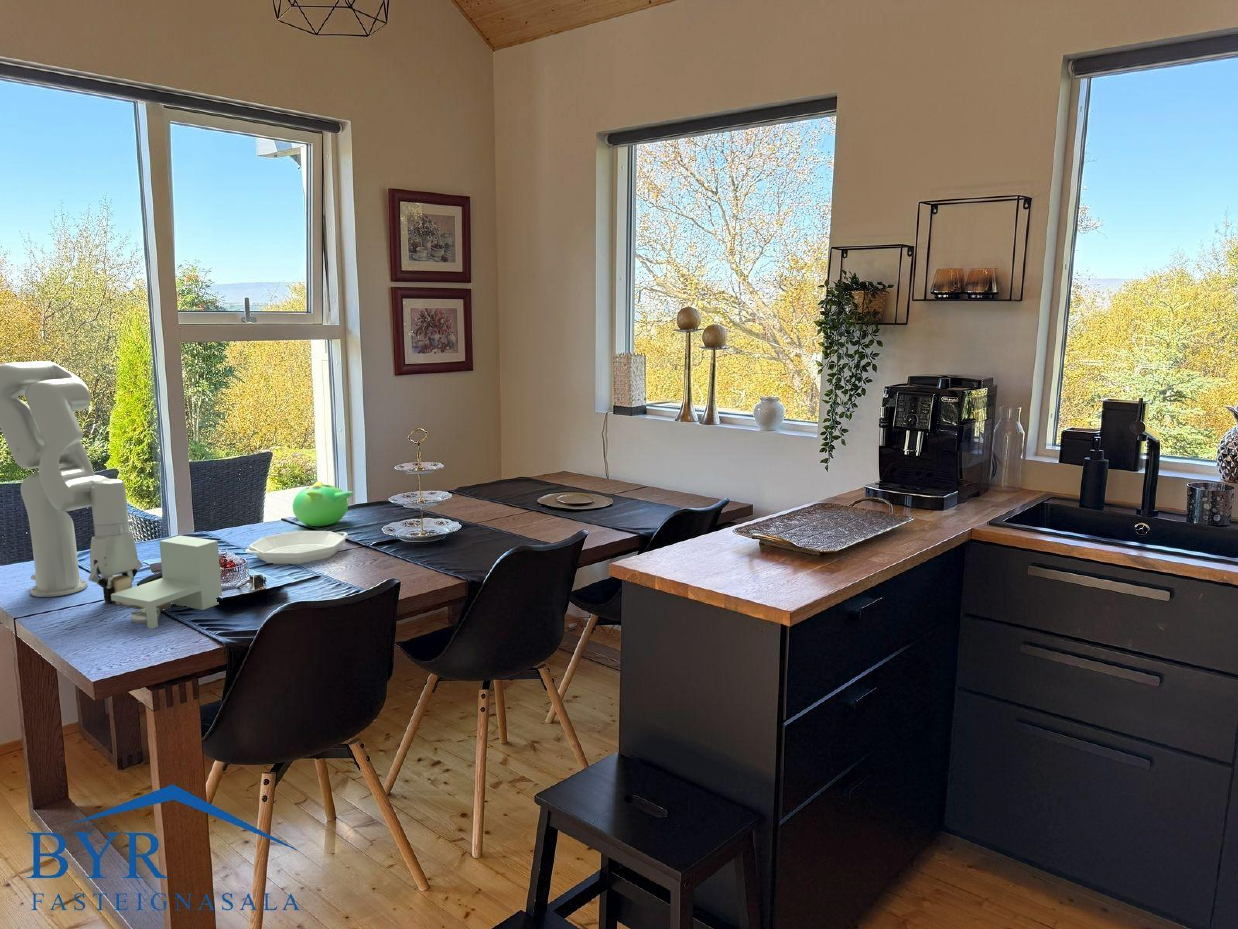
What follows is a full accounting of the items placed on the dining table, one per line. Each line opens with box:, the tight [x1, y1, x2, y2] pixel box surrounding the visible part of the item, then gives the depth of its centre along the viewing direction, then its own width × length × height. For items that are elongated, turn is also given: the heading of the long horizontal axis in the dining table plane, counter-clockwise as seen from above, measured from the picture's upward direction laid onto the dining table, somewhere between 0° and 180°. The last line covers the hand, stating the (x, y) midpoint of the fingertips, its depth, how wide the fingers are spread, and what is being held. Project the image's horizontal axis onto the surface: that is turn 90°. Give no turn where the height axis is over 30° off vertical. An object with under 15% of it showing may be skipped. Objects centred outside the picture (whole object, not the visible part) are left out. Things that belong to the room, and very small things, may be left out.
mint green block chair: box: [136, 552, 228, 586], centre depth 244 cm, size 8×4×25 cm
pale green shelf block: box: [111, 535, 223, 630], centre depth 213 cm, size 13×20×16 cm, turn 156°
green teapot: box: [292, 480, 355, 527], centre depth 298 cm, size 18×17×15 cm
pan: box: [244, 530, 349, 565], centre depth 264 cm, size 31×26×4 cm
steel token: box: [130, 608, 161, 625], centre depth 209 cm, size 6×6×2 cm
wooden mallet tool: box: [106, 574, 172, 613], centre depth 218 cm, size 19×4×6 cm, turn 66°
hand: (119, 598), depth 222 cm, fingers closed on wooden mallet tool, 4 cm apart
